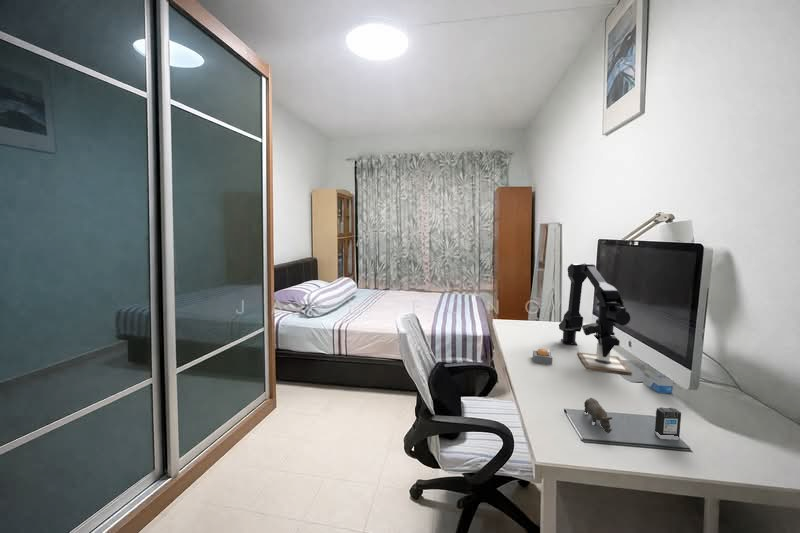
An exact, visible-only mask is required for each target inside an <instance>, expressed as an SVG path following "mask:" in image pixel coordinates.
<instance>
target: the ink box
mask: <svg viewBox="0 0 800 533" xmlns="http://www.w3.org/2000/svg"><path fill="white" fill-rule="evenodd" d="M642 378H643V379H642V384H645V385H646V386H647V387H649V388H651V390H653V391H655V392H657V393H659V394H672V393H673V389H674V388H673V387H674V380H673V381H671V380H670V379H668V378H667V377H666V376H665V375H663V374H662V373H660V372H659V371H657V370H656V369H654V368H653V367H651V366H650V365H649V364H647V363H645V362H644V370H643V377H642Z"/></svg>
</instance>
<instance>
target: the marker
mask: <svg viewBox="0 0 800 533" xmlns="http://www.w3.org/2000/svg"><path fill="white" fill-rule="evenodd" d="M595 354H596V357H597V358H598V360H605V361H610V356H611V351H610V352H609V354H608V355H607V357H603V353H602V344H601V343H598V342H597V343H596V353H595Z"/></svg>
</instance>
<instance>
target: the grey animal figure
mask: <svg viewBox="0 0 800 533" xmlns="http://www.w3.org/2000/svg"><path fill="white" fill-rule="evenodd" d="M583 406H584V411H583V412H586V413H587V412H588V415H590V416H591V419H592V421H593V422H596V423H597V421H599V425H600V424H601V426H602V427H603V428H602V427H601V428H602V429H603V430H604V432H605V433H606V432H607V433H608V434H610V433H611V432H612V430H613V429H612V428H611V424H610V420H613V417H611V416H610V417H608V413H607V412H606V410H605V409H604V408H603V407H602V405H601V404H600V403H599V400H597V399H595V398H593V397H589V398H587V399H586V400H585V401H584V405H583ZM607 433H606V434H607Z"/></svg>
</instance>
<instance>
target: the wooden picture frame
mask: <svg viewBox="0 0 800 533" xmlns="http://www.w3.org/2000/svg"><path fill="white" fill-rule="evenodd" d="M577 356H578V359H579V360H580V362H581V363H582V365H583V367H584V368H585V370H588V371H596V372H604V373H605V372H606V373H613V374H614V373H615V374H620V373H622V375H628V374H633V372H632V371H631V370H630V369H629V367H628V366H627V365H626V364H625V363H624V362H623V360H622V359H621V358H620V357H619V356H616V355H610V361H605V360H598V358H597V357H596V353H589V352H580V351H578V352H577Z"/></svg>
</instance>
